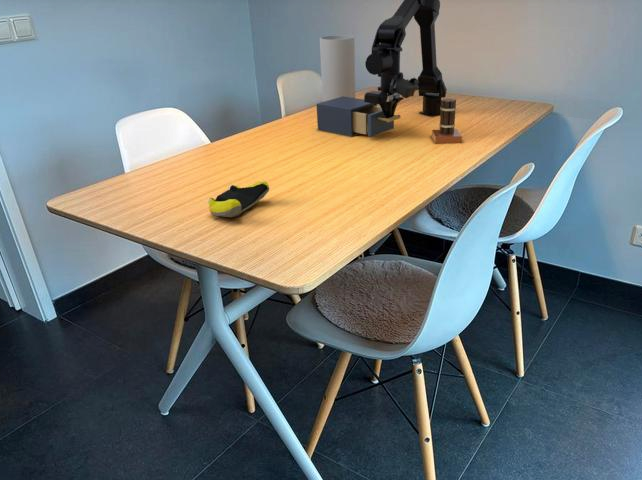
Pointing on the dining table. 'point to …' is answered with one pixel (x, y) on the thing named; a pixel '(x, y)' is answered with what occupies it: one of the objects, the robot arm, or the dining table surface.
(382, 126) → the drawer
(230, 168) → the dining table surface
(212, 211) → the black and yellow sneaker
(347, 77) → the cylinder vase
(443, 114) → the bundle
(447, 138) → the stand
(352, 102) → the cabinet
